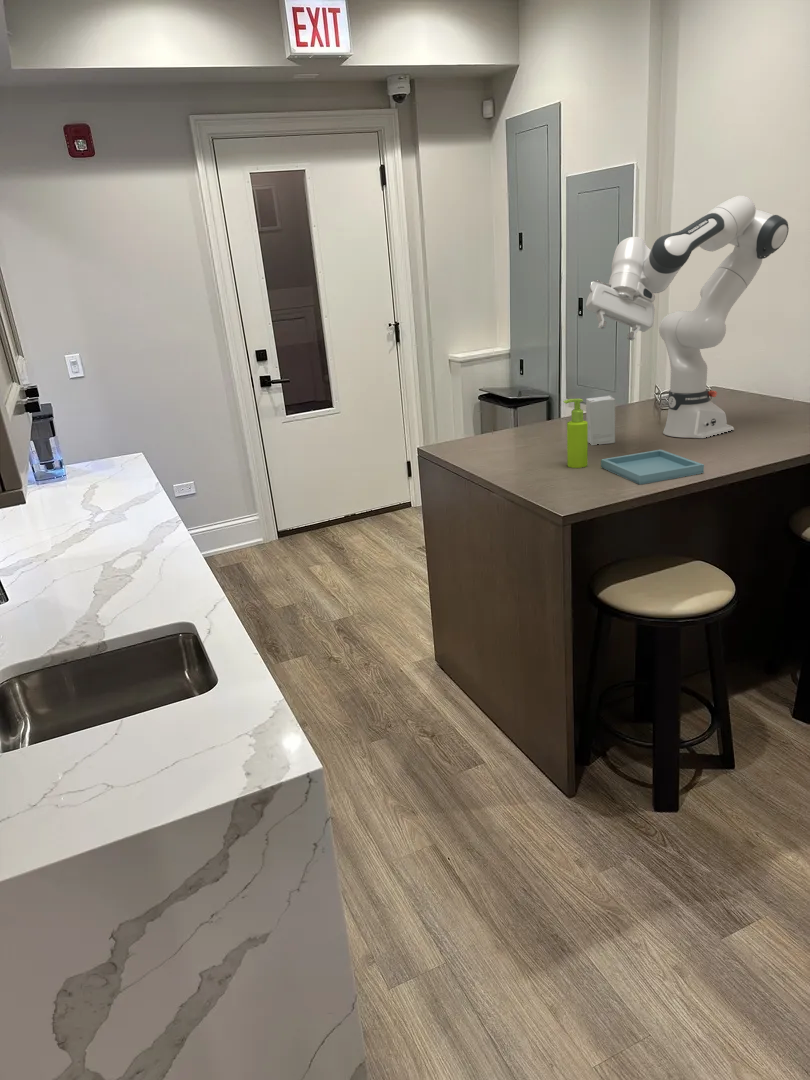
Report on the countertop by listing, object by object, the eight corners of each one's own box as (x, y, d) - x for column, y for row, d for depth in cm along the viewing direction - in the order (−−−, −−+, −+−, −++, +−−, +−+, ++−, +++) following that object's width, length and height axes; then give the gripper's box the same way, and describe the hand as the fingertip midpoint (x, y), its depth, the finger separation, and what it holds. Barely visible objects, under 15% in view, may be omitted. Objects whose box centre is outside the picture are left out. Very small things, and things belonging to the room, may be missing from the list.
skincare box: (610, 439, 246) (611, 395, 241) (615, 443, 240) (616, 398, 235) (585, 441, 246) (585, 397, 241) (590, 446, 240) (590, 400, 235)
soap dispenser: (561, 464, 223) (561, 398, 216) (583, 462, 223) (584, 396, 216) (567, 469, 218) (566, 401, 210) (590, 466, 218) (590, 399, 211)
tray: (660, 457, 221) (660, 449, 220) (703, 473, 203) (704, 464, 202) (600, 467, 216) (601, 459, 215) (639, 484, 198) (640, 475, 197)
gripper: (597, 272, 204) (590, 315, 201) (660, 297, 209) (653, 340, 206) (585, 283, 210) (578, 325, 207) (646, 307, 215) (640, 349, 212)
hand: (616, 333), depth 206 cm, fingers open, 8 cm apart
